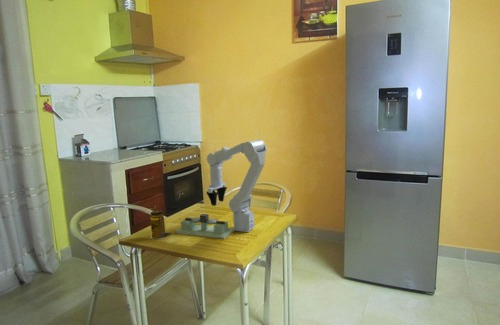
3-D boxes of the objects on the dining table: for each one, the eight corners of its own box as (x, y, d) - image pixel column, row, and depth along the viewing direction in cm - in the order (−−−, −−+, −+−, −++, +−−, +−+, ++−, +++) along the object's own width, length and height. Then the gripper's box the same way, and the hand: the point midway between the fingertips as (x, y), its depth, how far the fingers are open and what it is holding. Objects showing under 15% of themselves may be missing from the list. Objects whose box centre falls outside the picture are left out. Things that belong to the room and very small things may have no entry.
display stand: (234, 231, 156) (233, 220, 155) (224, 238, 147) (223, 228, 146) (187, 225, 166) (186, 216, 165) (175, 232, 157) (174, 222, 156)
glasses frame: (226, 222, 154) (226, 215, 153) (221, 225, 149) (221, 218, 149) (188, 218, 162) (188, 211, 161) (182, 221, 157) (182, 214, 157)
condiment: (148, 238, 152) (145, 213, 150) (159, 231, 160) (157, 207, 158) (161, 240, 149) (158, 214, 147) (172, 233, 157) (170, 208, 155)
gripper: (216, 173, 172) (217, 198, 174) (201, 179, 159) (203, 206, 161) (228, 174, 169) (229, 199, 172) (214, 180, 156) (216, 207, 158)
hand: (217, 203), depth 166 cm, fingers open, 7 cm apart
